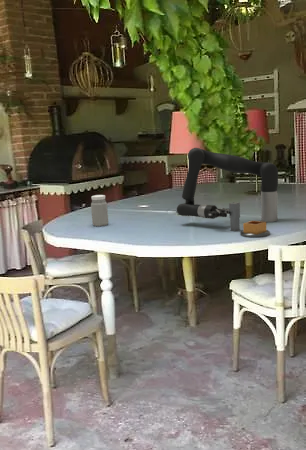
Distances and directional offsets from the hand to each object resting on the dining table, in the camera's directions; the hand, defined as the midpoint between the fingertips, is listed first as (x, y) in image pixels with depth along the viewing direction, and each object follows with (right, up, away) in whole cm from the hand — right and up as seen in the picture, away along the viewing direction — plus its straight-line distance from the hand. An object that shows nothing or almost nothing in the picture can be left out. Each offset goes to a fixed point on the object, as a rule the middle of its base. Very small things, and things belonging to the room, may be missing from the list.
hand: (231, 213), depth 286 cm
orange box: (+11, -11, -12) cm, 19 cm away
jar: (-74, -6, +38) cm, 84 cm away
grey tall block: (+2, -9, 0) cm, 9 cm away
